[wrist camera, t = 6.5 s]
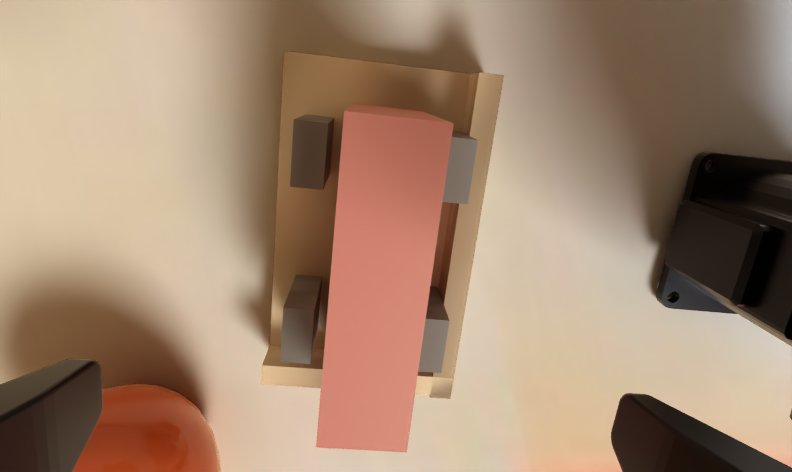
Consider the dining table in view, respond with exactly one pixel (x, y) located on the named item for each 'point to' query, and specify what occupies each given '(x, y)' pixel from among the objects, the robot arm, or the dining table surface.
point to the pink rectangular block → (380, 274)
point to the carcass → (317, 196)
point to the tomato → (149, 434)
